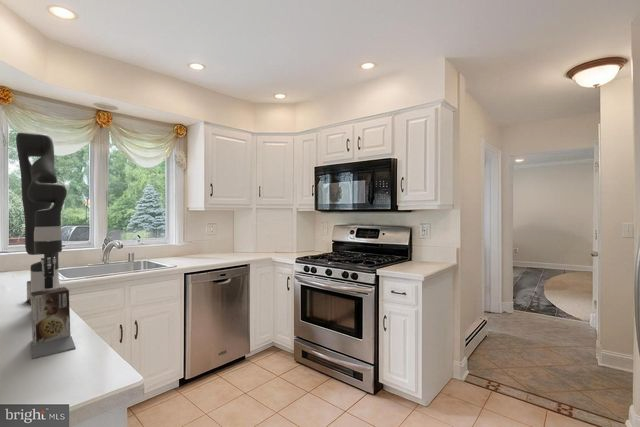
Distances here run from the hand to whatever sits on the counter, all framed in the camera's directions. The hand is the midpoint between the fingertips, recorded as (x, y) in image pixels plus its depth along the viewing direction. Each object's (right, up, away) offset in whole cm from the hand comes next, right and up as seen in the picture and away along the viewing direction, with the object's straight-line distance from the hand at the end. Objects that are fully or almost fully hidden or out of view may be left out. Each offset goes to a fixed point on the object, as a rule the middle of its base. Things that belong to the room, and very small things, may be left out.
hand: (48, 288), depth 113 cm
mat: (+13, -15, -13) cm, 24 cm away
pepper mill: (-36, -16, +39) cm, 55 cm away
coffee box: (+6, -16, -6) cm, 18 cm away
